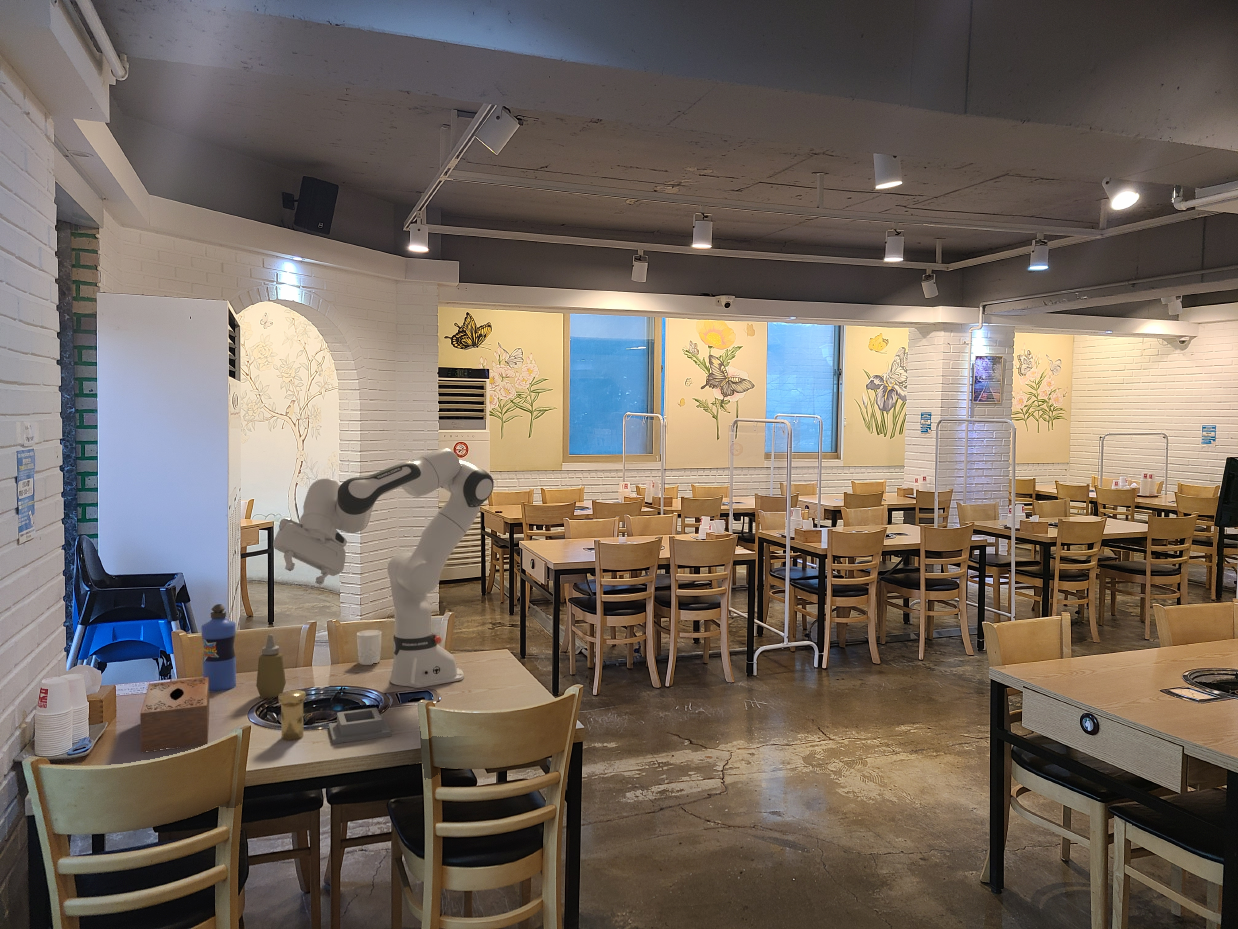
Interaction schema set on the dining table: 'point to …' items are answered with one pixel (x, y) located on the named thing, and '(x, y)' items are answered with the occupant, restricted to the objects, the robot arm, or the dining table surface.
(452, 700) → the dining table surface
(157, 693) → the tissue box cover
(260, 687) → the squeeze bottle
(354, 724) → the socket block
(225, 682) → the water bottle
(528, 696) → the dining table surface
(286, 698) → the gold stepped cylinder
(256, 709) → the dining table surface
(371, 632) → the white cup
